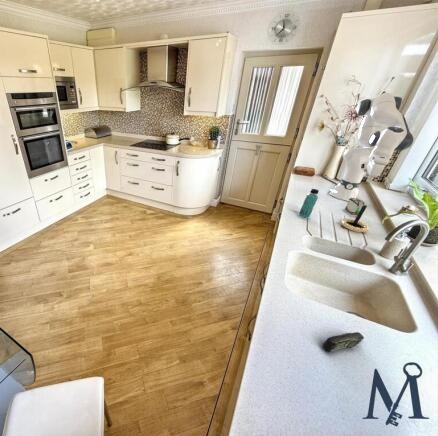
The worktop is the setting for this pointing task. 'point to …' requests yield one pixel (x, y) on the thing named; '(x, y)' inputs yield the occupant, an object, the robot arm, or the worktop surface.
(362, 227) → the post
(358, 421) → the worktop surface
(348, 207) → the food container
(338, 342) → the dark elongated rock
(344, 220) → the ring
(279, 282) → the worktop surface
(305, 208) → the beverage bottle
